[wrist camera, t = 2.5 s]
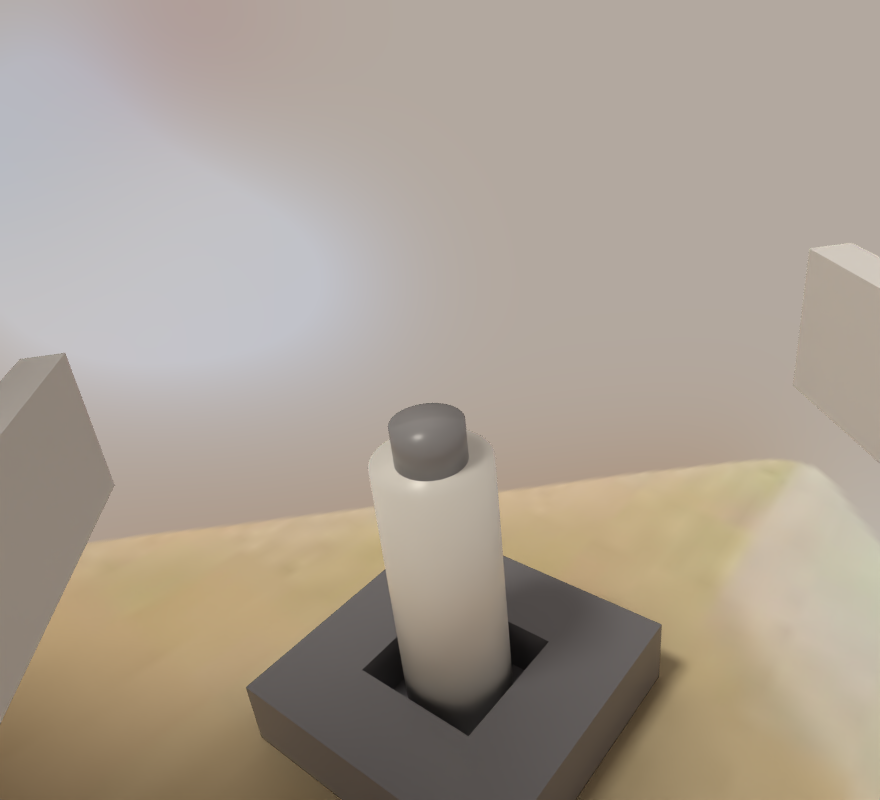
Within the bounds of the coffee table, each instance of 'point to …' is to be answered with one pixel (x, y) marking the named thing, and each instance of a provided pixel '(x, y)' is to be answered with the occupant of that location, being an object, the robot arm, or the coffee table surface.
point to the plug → (444, 562)
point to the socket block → (435, 741)
